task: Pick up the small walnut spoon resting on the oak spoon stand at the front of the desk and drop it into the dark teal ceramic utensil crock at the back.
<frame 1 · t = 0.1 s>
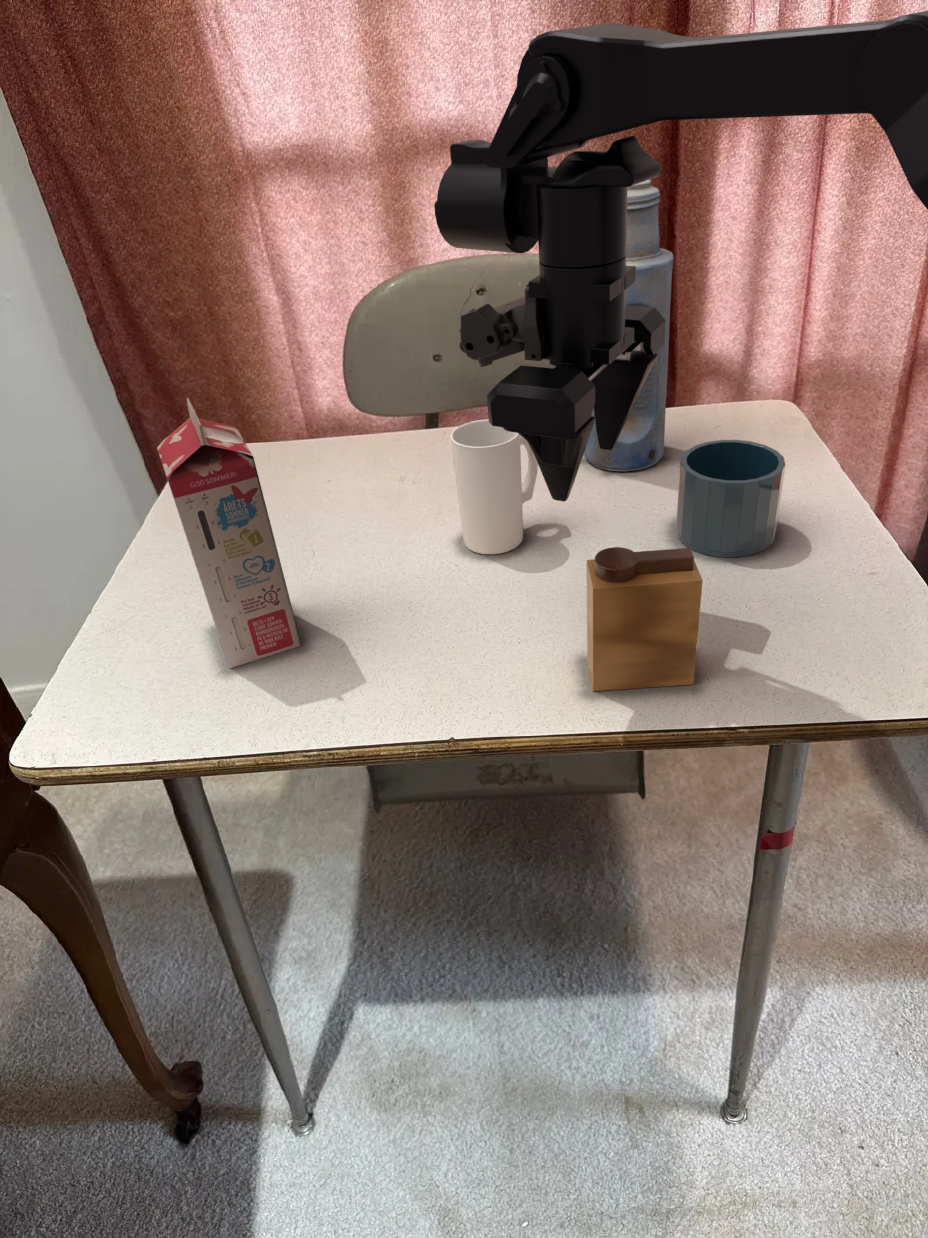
hand: (584, 473, 64), 16 cm above the table, tool pointing down, fingers open, 9 cm apart
juice carton: (258, 639, 78), on the table
mug: (505, 535, 89), on the table
crock: (724, 532, 85), on the table
spoon: (642, 569, 63), point 10 cm above the table, touching stand
bottle: (623, 456, 102), on the table
stand: (638, 672, 69), on the table
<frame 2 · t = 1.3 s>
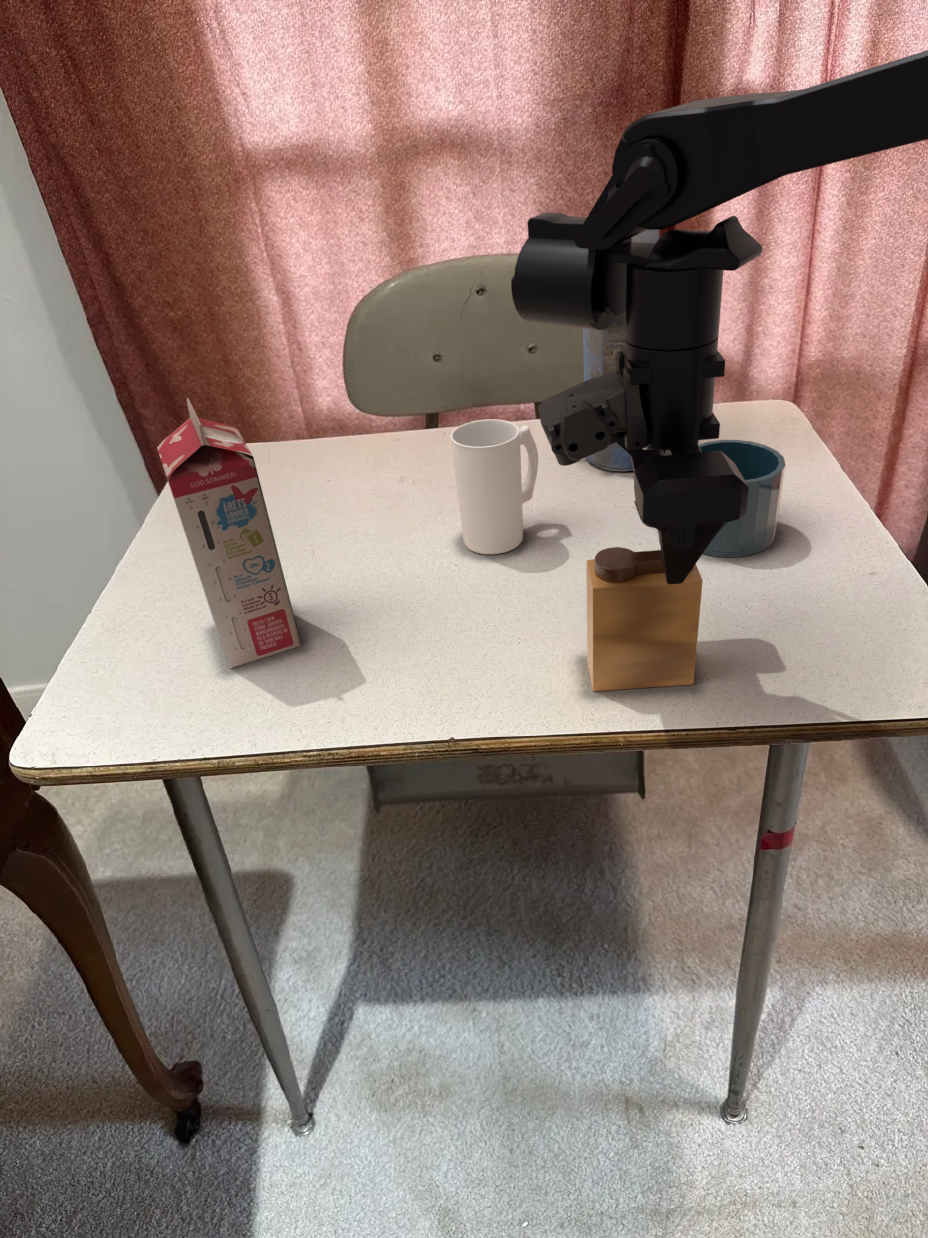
hand: (661, 549, 62), 12 cm above the table, tool pointing down, fingers open, 9 cm apart
nothing on the table moved.
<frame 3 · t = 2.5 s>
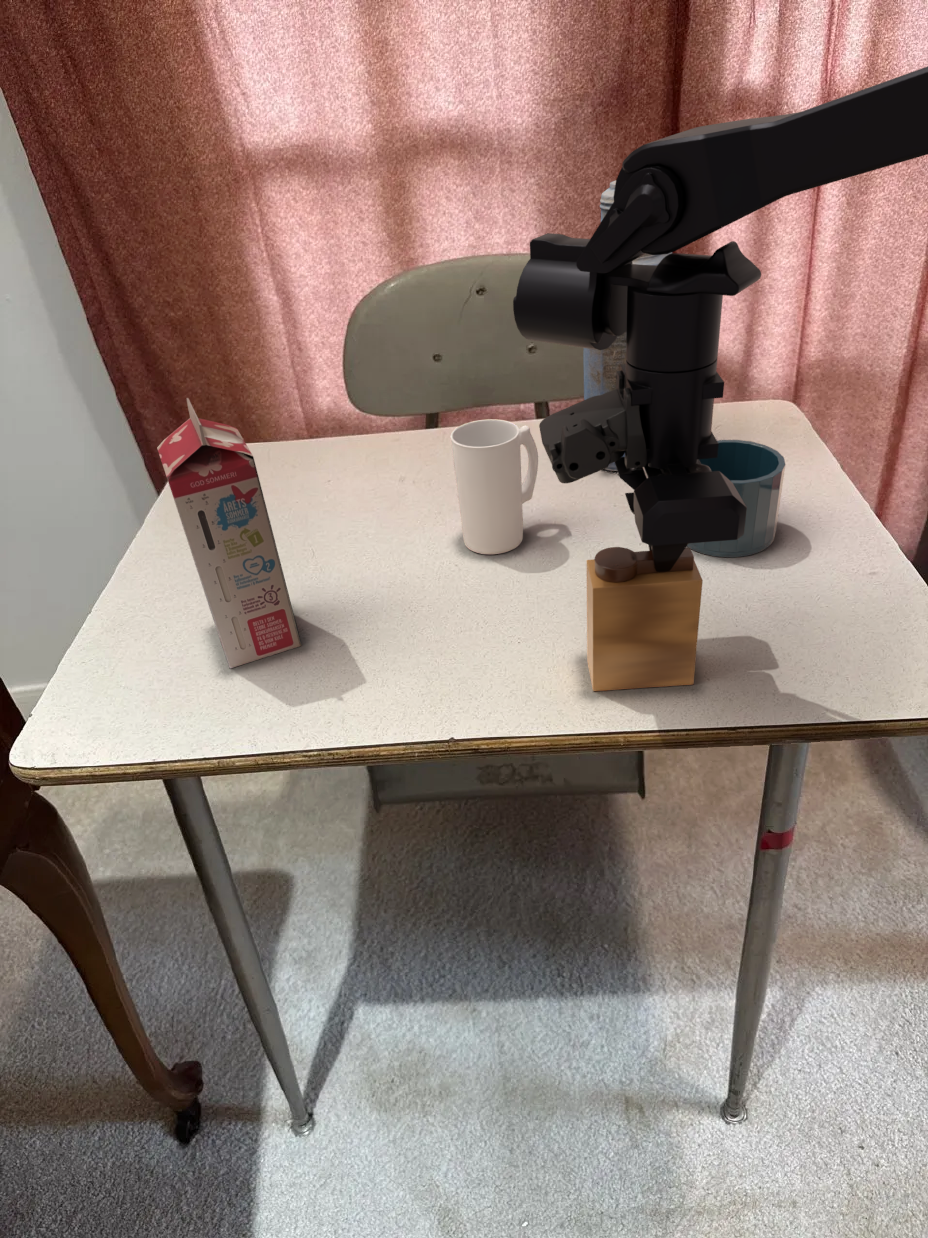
hand: (660, 564, 63), 10 cm above the table, tool pointing down, fingers closed on spoon, 1 cm apart
spoon: (642, 569, 63), point 10 cm above the table, touching gripper, stand
everything else where it was.
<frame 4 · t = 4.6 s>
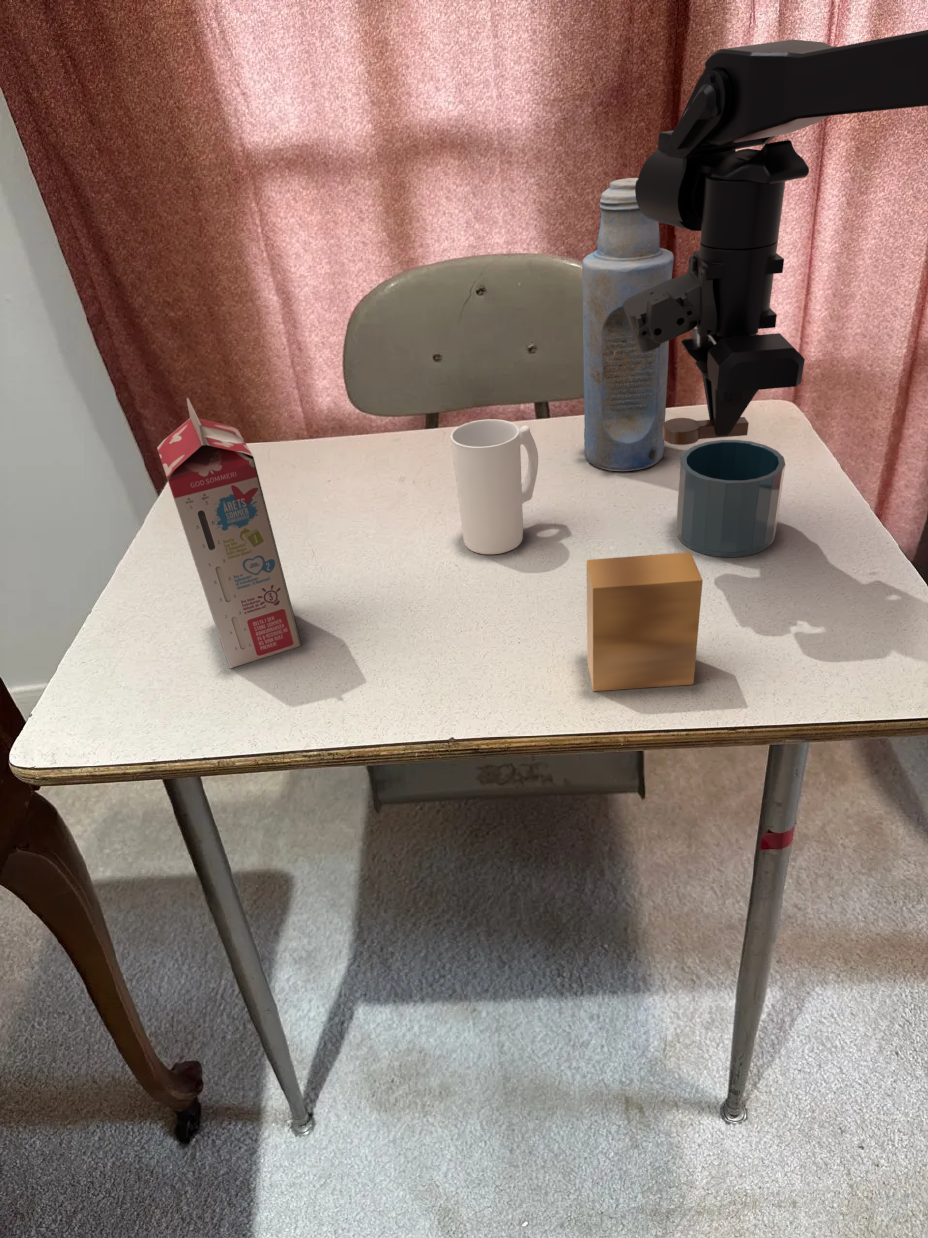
hand: (719, 431, 73), 13 cm above the table, tool pointing down, fingers closed on spoon
spoon: (703, 435, 74), point 13 cm above the table, touching gripper
everything else where it was.
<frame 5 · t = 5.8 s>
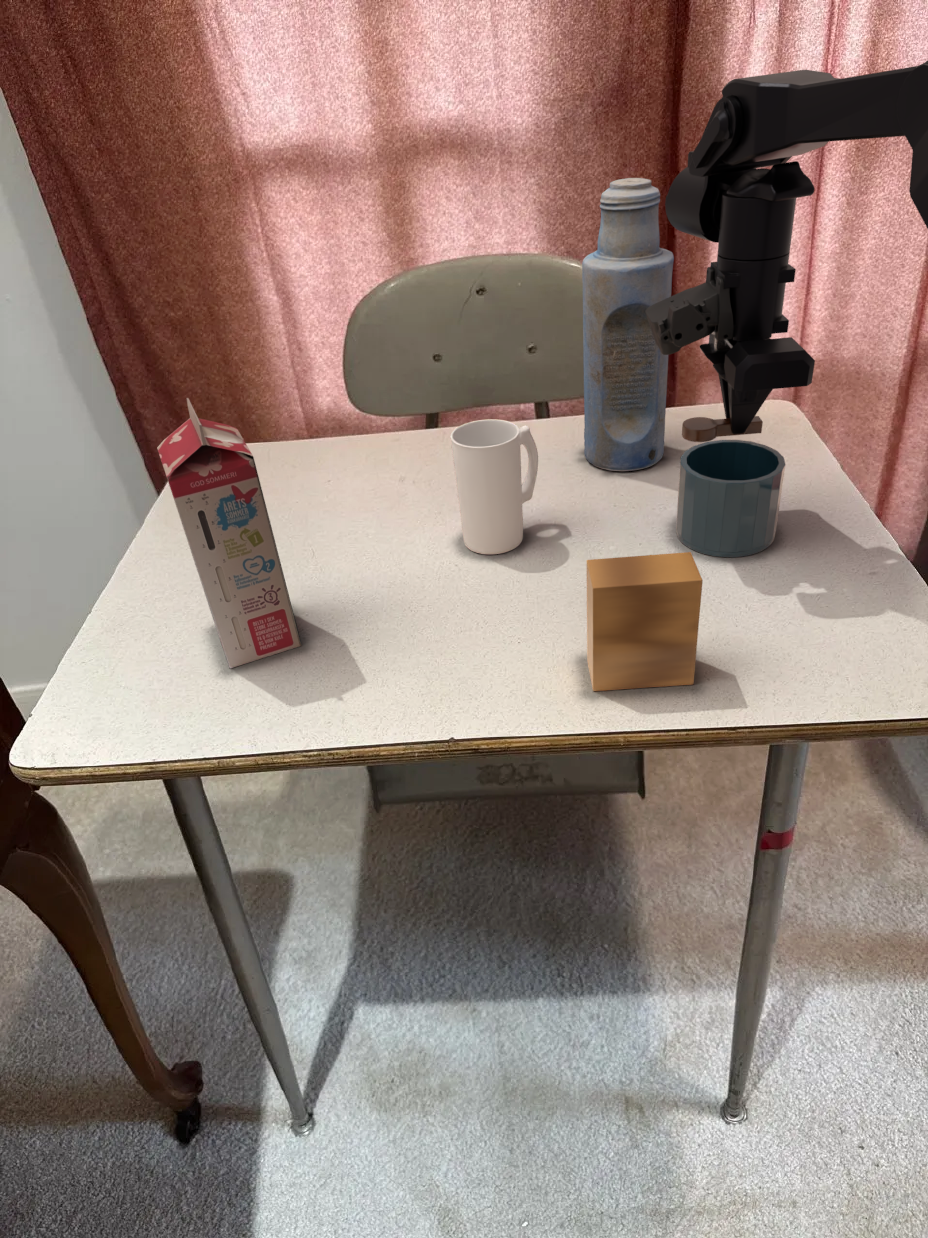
hand: (735, 429, 79), 11 cm above the table, tool pointing down, fingers closed on spoon, 1 cm apart
spoon: (720, 433, 79), point 11 cm above the table, touching gripper
everything else where it was.
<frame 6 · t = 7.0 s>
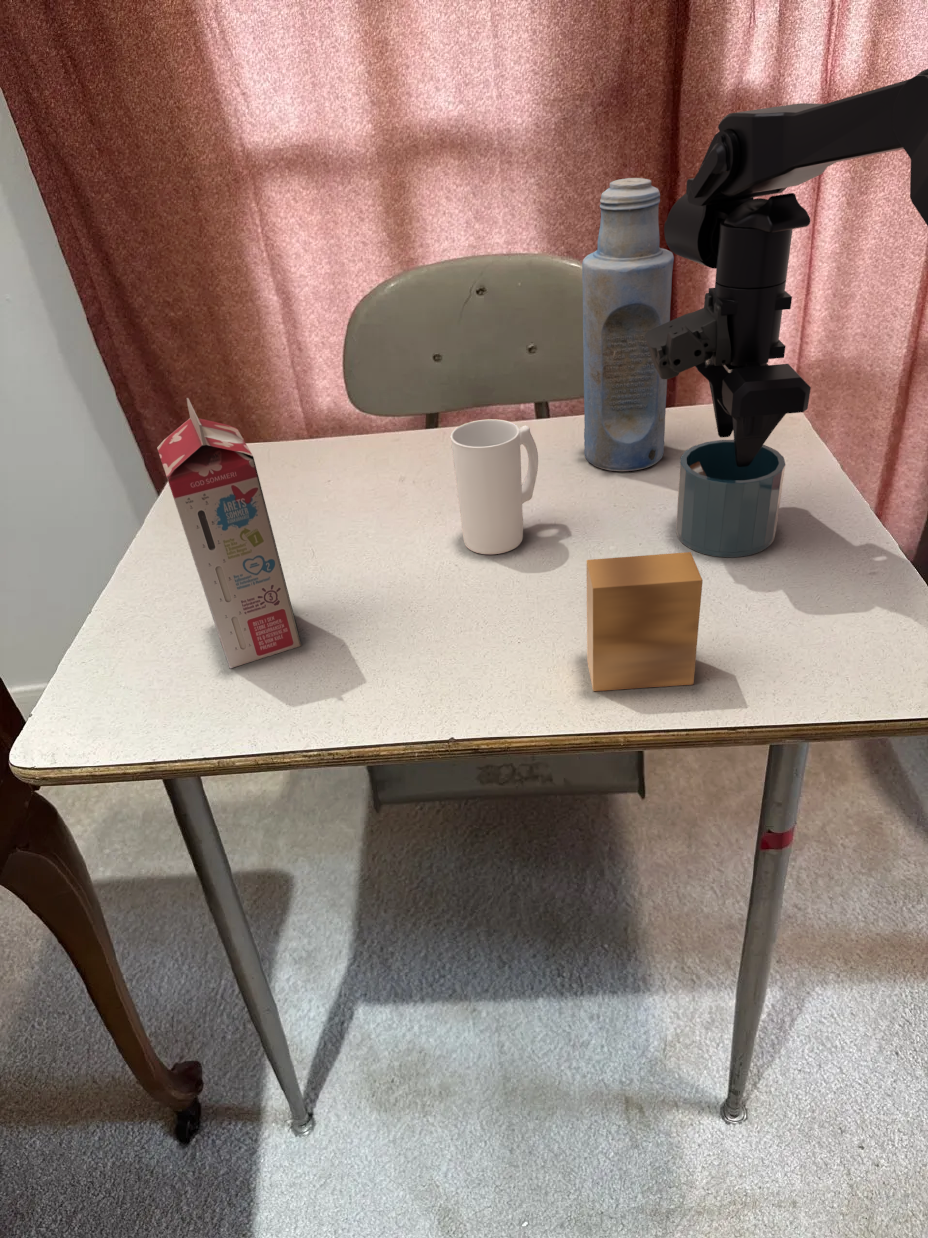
hand: (733, 450, 80), 9 cm above the table, tool pointing down, fingers open, 6 cm apart
spoon: (703, 497, 83), point 4 cm above the table, tilted 63°, touching crock
everything else where it was.
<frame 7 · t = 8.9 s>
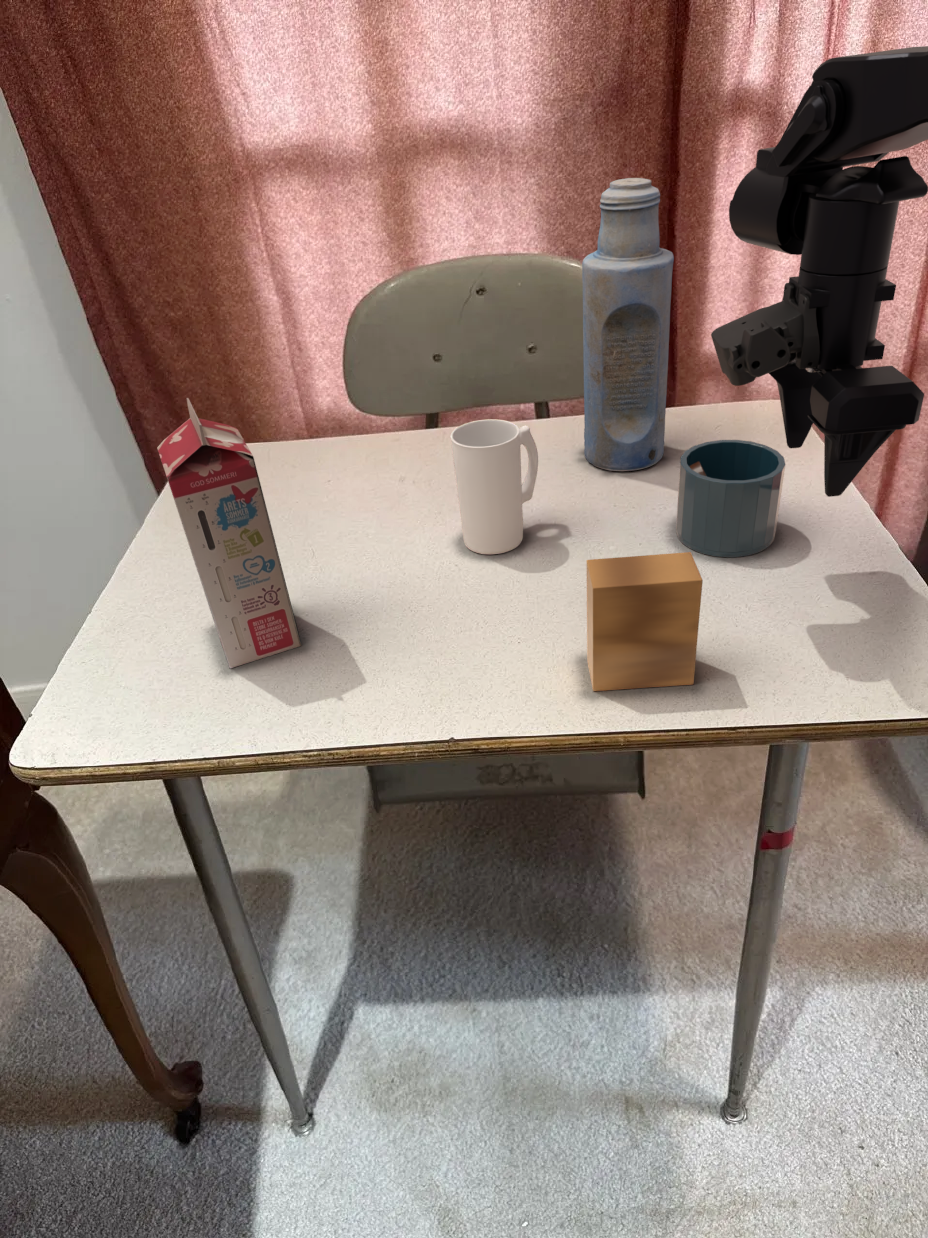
hand: (812, 470, 68), 13 cm above the table, tool pointing down, fingers open, 9 cm apart
nothing on the table moved.
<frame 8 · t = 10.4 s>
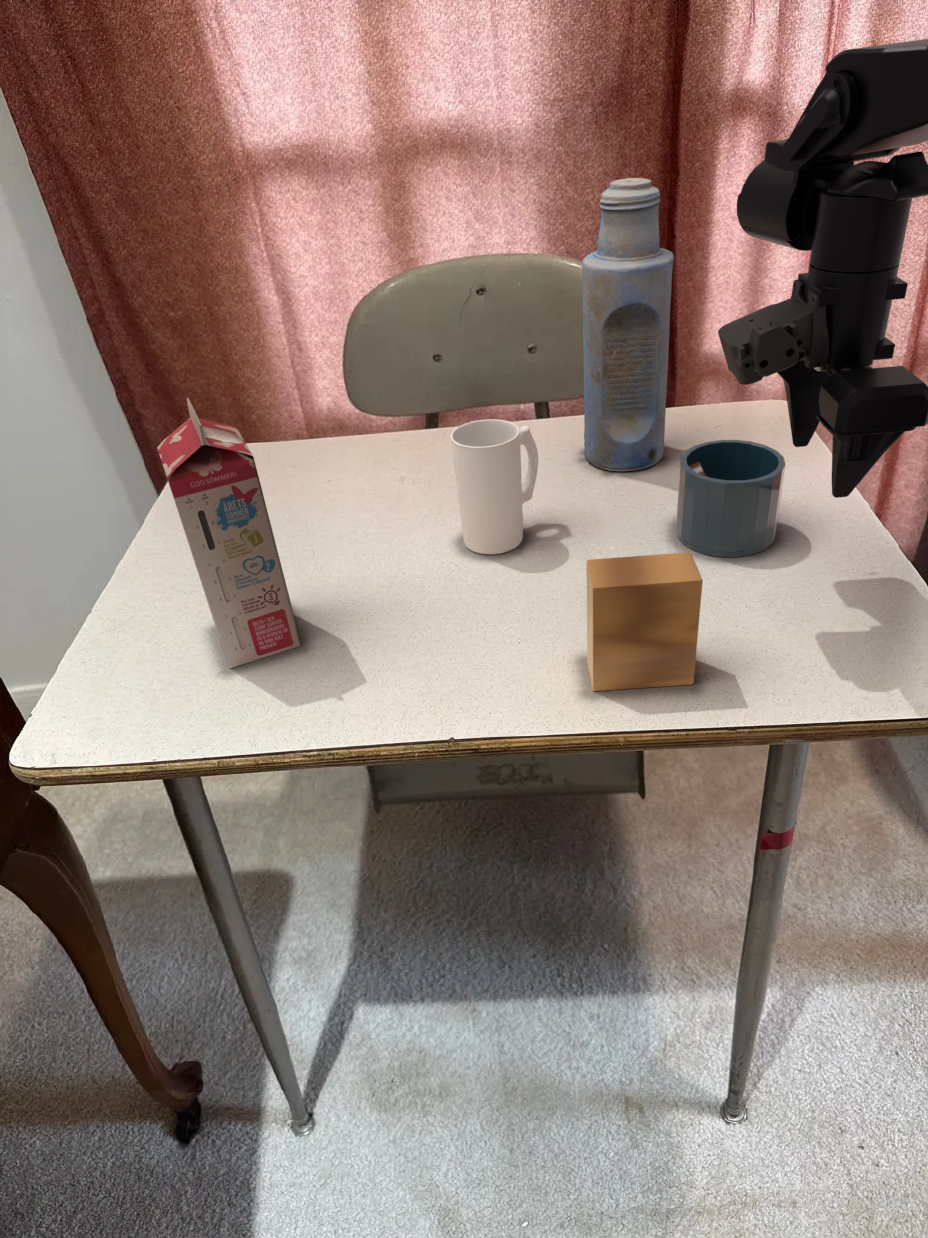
hand: (818, 469, 67), 13 cm above the table, tool pointing down, fingers open, 9 cm apart
nothing on the table moved.
at the end: spoon inside the target area in the crock (2.4 cm from its centre), point 3.9 cm above the crock's base; the gripper is holding nothing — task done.
